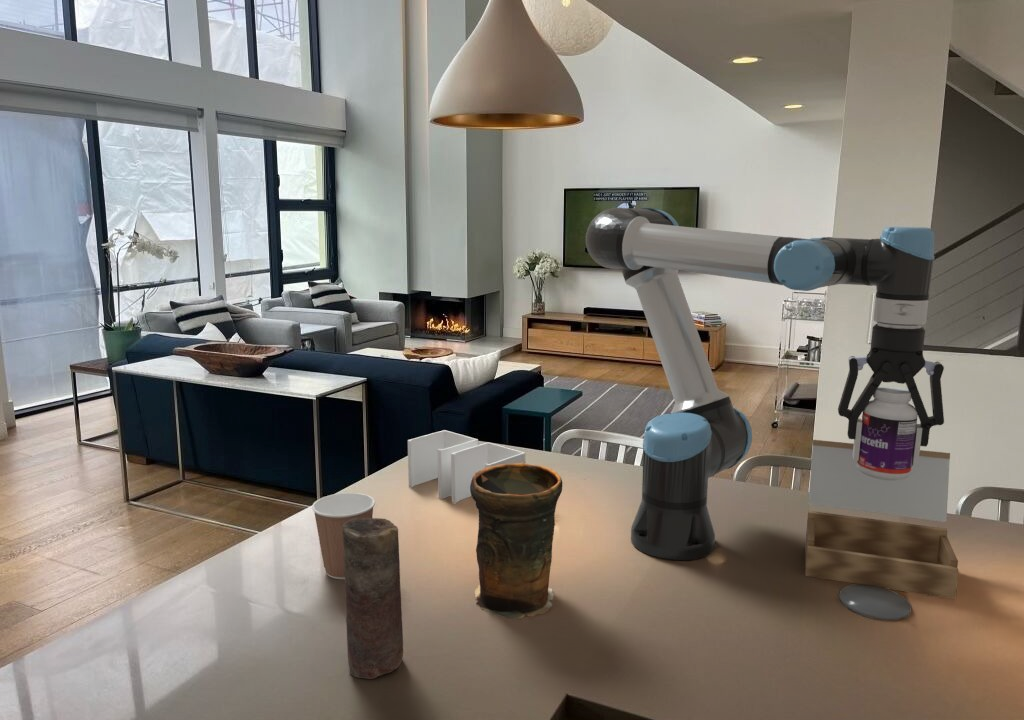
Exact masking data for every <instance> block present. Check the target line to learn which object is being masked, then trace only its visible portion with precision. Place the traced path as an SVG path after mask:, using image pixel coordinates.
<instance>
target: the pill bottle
mask: <svg viewBox="0 0 1024 720" xmlns="http://www.w3.org/2000/svg"><path fill="white" fill-rule="evenodd" d="M872 398H873V399H872V400H871V399H870V400H869V402H868V403H867V405H866V407H865V408H864V410H863V411H862V413H861V414H862V416H861V420H862V431H861V441H860V451H859V461H858V460H857V467H858V469H859V470H860V471H861V472H862V473H863V474H865V475H868V476H870V477H873V478H877V479H882V480H901V479H905V478H907V477H908V476H909V475H910V473H911V466H912V457H913V449H914V441H915V433H916V425H917V424H918V413H917V410H916V408H915V406H913V405H912V404H911V403H910V402H911V400H912V398H911V393H910V392H909V390H908V388H903V387H899V386H898V387H897V386H888V385H887V386H885V385H884V386H883V385H879V387H878V388H877V389H876V391H875V392H874V394H873V396H872Z"/></svg>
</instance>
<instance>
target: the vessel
mask: <svg viewBox="0 0 1024 720" xmlns="http://www.w3.org/2000/svg"><path fill="white" fill-rule="evenodd" d="M562 491H563V480H562V477H561V475H560V474H559V473H558V472H557V471H555V470H553V469H552V468H549V467H546V466H544V465H539V464H537V465H536V464H534V465H533V464H528V463H525V464H524V463H516V464H502V465H497V466H490V467H488V468H484V469H482V470H479V471H478V472H476V473H475V475H474V476H473V478H472V481H471V484H470V492H471V496H470V497H471V498H472V499H473V500H474V503H475V507H476V509H477V512H478V530H477V531H478V532H477V542H476V549H475V553H476V562H477V566H478V579H479V584H478V586H477V587H476V589H475V590H474V594H475V595H474V597H475V598H476V599H475V601H476V602H475V603H476V604H475V605H478V606H479V608H480V610H481V611H483V610H484V612H486V613H487V614H488V615H494V616H500V617H503V618H506V619H511V620H516V619H517V620H518V619H524V618H525V616H528V617H535V616H536V615H541V614H542V615H543V614H547V612H548V611H549V610H550V609H551V608H552V606H553V603H552V602H551V601H552V600H554V598H553V597H554V596H555V594H554V593H553V588H550V587H549V586H550V585H549V584H550V575H551V574H550V573H551V566H552V560H553V540H554V534H555V521H556V519H555V518H556V515H555V513H556V508H557V505H558V504H557V503H558V501H559V498H560V496H561V494H562Z"/></svg>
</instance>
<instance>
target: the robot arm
mask: <svg viewBox="0 0 1024 720" xmlns="http://www.w3.org/2000/svg"><path fill="white" fill-rule="evenodd" d="M881 231H882V232H881V235H880V237H879V238H871V239H868V238H866V239H865V238H849V237H847V238H846V237H832V236H831V237H829V236H827V237H826V236H822V237H812V238H801V237H792V236H791V237H790V236H779V235H778V236H777V235H768V234H758V233H751V232H749V233H748V232H740V231H729V230H721V229H720V230H719V229H710V228H701V227H691V226H682V225H679V223H678V222H677V221H676V219H675V218H674V217H673V216H672V215H671V214H669V213H668V212H666V211H664V210H661V209H657V208H652V207H640V208H635V207H634V208H629V207H628V208H627V207H626V208H625V207H611V208H609V209H605V210H603V211H601V212H600V213H598V214H597V215H596V216H594V218H593V219H592V220H591V221H590V223H589V224H588V227H587V230H586V234H585V246H586V249H587V253H588V254H589V255H590V258H591V259H593V261H594V262H595V263H596V264H598V265H599V266H601V267H603V268H605V269H612V270H621V273H622V277H623V279H624V282H625V284H626V285H627V286H630V287H632V288H633V289H635V290H636V293H637V297H638V299H639V302H640V304H641V307H642V310H643V313H644V316H645V319H646V322H647V326H648V328H649V330H650V334H651V337H652V339H653V342H654V345H655V348H656V350H657V354H658V356H659V359H660V363H661V365H662V366H661V367H662V368H663V370H664V374H665V377H666V380H667V383H668V385H669V389H670V392H671V394H672V397H673V401H674V404H673V407H672V410H671V412H670V413H663V414H660V415H657V416H655V417H653V418H652V419H650V420H649V421H648V422H647V424H646V425H645V429H644V435H643V439H642V448H643V451H642V452H643V453H642V454H643V455H642V481H641V482H642V483H641V485H642V487H641V502H640V504H639V507H638V509H637V512H636V514H635V517H634V520H633V522H632V524H631V529H630V530H631V531H630V542H631V544H632V545H633V546H634V547H635V548H636V549H637V550H638V551H641V552H642V553H644V554H646V555H649V556H652V557H656V558H658V559H659V558H660V559H664V560H665V559H666V560H672V561H689V560H690V561H691V560H697V559H701V558H704V557H706V556H708V555H710V554H711V553H712V552H713V551H714V549H715V545H716V543H715V541H716V536H715V535H716V534H715V530H714V526H713V524H712V520H711V516H710V513H709V509H708V504H707V503H708V489H709V488H708V486H709V485H708V484H709V479H710V478H711V477H713V476H715V475H717V474H719V473H721V472H722V471H725V470H727V469H731V468H733V467H735V466H736V465H737V464H738V463H740V461H742V460H743V459H744V458H745V457H746V456H747V455H748V453H749V451H750V449H751V446H752V442H753V430H752V427H751V423H750V421H749V420H748V418H747V417H746V415H745V414H744V413H743V412H742V411H739V410H738V409H737V408H736V407H734V406H733V404H732V403H733V402H732V401H731V398H730V395H729V394H728V393H727V392H724V391H722V390H720V389H719V388H718V386H717V385H718V384H717V383H716V380H715V377H714V374H713V371H712V368H711V365H710V363H709V359H708V358H707V354H706V351H705V349H704V346H703V343H702V340H701V337H700V334H699V332H698V329H697V326H696V323H695V320H694V318H693V314H692V312H691V309H690V306H689V303H688V301H687V299H686V295H685V293H684V292H685V291H684V289H683V287H682V284H681V281H680V278H679V275H678V274H679V271H681V272H689V273H695V274H703V275H710V276H716V277H717V276H719V277H725V278H731V279H737V280H738V279H740V280H747V281H752V282H760V283H767V284H774V285H778V286H784V287H786V288H787V289H790V290H792V291H801V292H802V291H803V292H806V291H807V292H808V291H809V292H810V291H814V290H816V289H820V288H824V287H831V286H836V285H853V286H854V285H855V286H868V287H869V286H875V287H876V289H875V290H876V292H875V300H874V308H873V309H874V311H873V317H872V318H873V321H874V322H875V323H876V324H874V326H872V331H871V341H870V348H869V351H868V353H867V354H866V356H857V357H856V356H854V355H852V356H851V355H850V356H849V357H848V368H849V371H848V374H847V377H846V380H845V384H844V387H843V389H842V390H843V391H842V394H841V397H840V401H839V404H838V408H837V412H838V415H839V416H840V417H844V418H846V419H848V424H847V437H848V439H849V440H853V444H854V446H853V460H858V461H859V451H860V441H861V431H862V418H860V416H861V414H863V410H864V408H865V407H866V405H867V403H868V402H869V401H871V399H872V398H873V394H874V392H875V391H876V389H877V388H878V387H879V386H881V385H882V383H897V384H902V385H903V384H905V385H906V389H907V390H909V392H910V393H911V400H912V404H913V405H914V407H915V408H916V410H917V413H918V416H917V418H918V419H919V421H920V423H917V425H916V433H915V441H914V449H913V457H912V466H913V467H918V462H919V453H920V450H921V447H927V446H928V444H929V439H930V432H931V431H930V429H931V428H932V427H935V426H943V425H944V423H945V418H944V417H945V415H944V406H943V405H944V404H943V394H942V383H941V382H942V381H941V378H942V376H943V372H944V371H945V366H944V365H943V364H942V363H941V362H939V361H935V362H934V361H929V360H926V359H925V358H924V354H923V353H924V344H925V336H926V330H925V329H924V327H922V326H924V325H925V324H927V317H928V308H929V307H928V306H929V299H930V289H931V280H932V273H933V268H934V260H935V257H936V256H935V255H934V253H935V239H936V238H935V236H936V235H935V232H934V231H933V229H931V228H930V227H924V226H923V227H922V226H921V227H920V226H919V227H917V226H915V227H914V226H912V227H911V226H887V227H884V228H883V229H882V230H881ZM866 364H867V365H868V367H869V368H870V369H871V371H872V372H873V373H872V375H871V376H870V378H869V380H868V382H867V383H866V385H865V386H864V389H863V390H862V392H861V393H860V395H859V397H858V398H857V399H856V401H855V403H854V405H853V406H852V407H851V409H849V406H850V403H851V400H852V396H853V393H854V389H855V386H856V383H857V380H858V375H859V371H862V370H863V369H864V366H865V365H866ZM923 368H925V373H926V374H927V375H928V376H929V386H930V398H931V406H932V407H931V410H932V416H931V415H930V416H928V413H927V411H926V410H927V409H926V407H925V405H924V402H923V400H922V396H921V394H920V391H919V389H918V386H917V383H916V381H915V378H914V377H915V376H916V375H917V374H919V372H920V371H921V370H922V369H923Z"/></svg>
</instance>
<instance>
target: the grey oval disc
mask: <svg viewBox="0 0 1024 720" xmlns="http://www.w3.org/2000/svg"><path fill="white" fill-rule="evenodd" d="M839 600H840V602H841V604H842V605H844V606H845V608H847V609H848V610H850V611H852V612H853V613H856V614H858V615H861V616H863V617H867V618H869V619H874V620H881V621H899V620H903V619H906V618H908V617H909V616H910V615H911V611H912V607H911V603H910V601H908V599H906V597H904V596H903V595H901V594H899V593H898V592H895V591H893V590H892V589H887V588H882V587H878V586H873V585H864V584H851V585H847V586H844V587H843V588H841V589H840V591H839Z"/></svg>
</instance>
